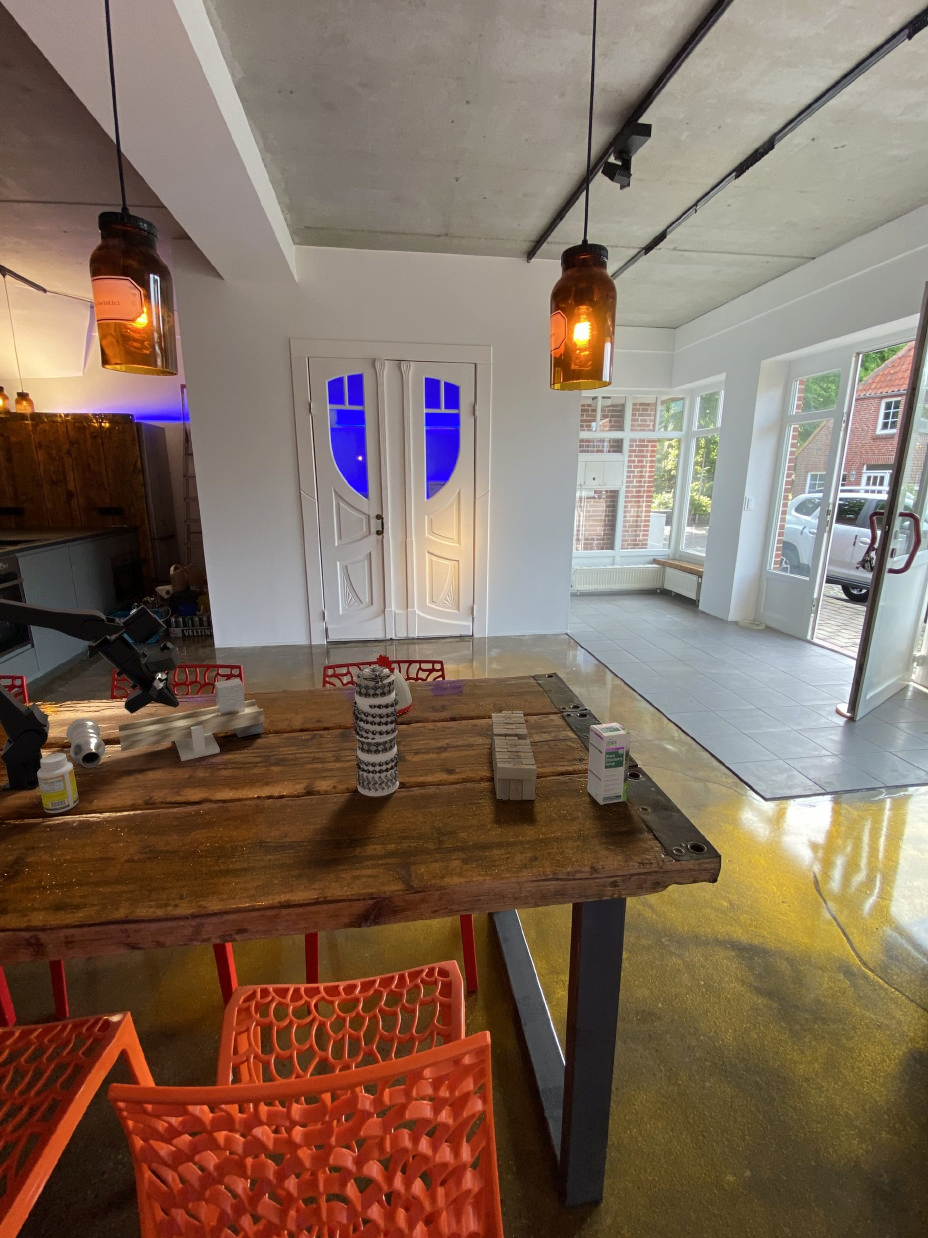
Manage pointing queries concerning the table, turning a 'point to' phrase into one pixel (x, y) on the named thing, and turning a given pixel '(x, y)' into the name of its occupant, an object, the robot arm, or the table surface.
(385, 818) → the table surface
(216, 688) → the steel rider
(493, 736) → the block tower
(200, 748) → the beam stand
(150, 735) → the balance beam
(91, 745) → the silver metal bottle
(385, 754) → the white patterned cylinder
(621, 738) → the syrup box
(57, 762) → the supplement bottle
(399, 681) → the kitchen timer
